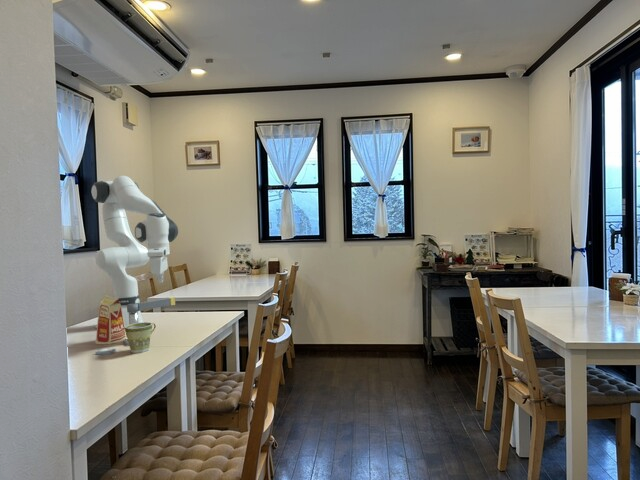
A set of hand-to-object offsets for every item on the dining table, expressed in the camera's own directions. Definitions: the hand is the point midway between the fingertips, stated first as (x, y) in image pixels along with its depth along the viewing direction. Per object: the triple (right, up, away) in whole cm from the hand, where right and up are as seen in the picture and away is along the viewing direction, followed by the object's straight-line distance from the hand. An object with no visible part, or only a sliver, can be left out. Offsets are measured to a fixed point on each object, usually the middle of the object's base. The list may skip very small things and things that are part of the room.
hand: (160, 282), depth 197 cm
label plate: (-14, -25, -20) cm, 35 cm away
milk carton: (-20, -25, -2) cm, 32 cm away
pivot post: (-9, -24, -6) cm, 27 cm away
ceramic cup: (0, -25, -18) cm, 31 cm away
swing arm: (-4, -11, -1) cm, 12 cm away
